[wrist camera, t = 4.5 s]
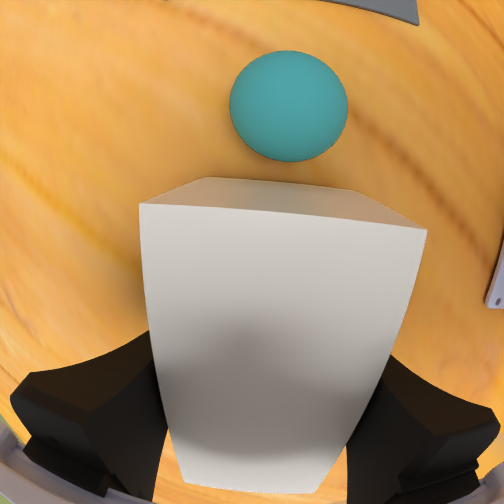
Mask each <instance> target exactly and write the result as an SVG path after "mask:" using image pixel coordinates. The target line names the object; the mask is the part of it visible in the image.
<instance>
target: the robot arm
mask: <svg viewBox="0 0 504 504" xmlns="http://www.w3.org/2000/svg"><path fill="white" fill-rule="evenodd" d="M485 305H486V306H487V307H488V308H490V309H504V241H503V245H502V249H501V253H500V256H499V260H498V263H497V267H496V270H495V273H494V276H493V279H492V282H491V285H490V288H489V291H488V294H487V297H486V300H485ZM10 402H11V405H12V408H13V409H14V411H15V413H16V414H17V416H18V417H19V419H20V420H21V422H22V423H23V425H24V426H25V427H26V429H27V430H28V432H29V433H30V434H31V436H32V437H31V438H30V440H29V441H28V443H27V444H26V445H24V444H23V443H21V442H20V441H18V438H17V437H16V436H15V434H14V433H13V432H12V431H11V430H10V429H9V428H8V427H7V426H6V425H5V424H4V423H2V422H1V421H0V494H1V495H3V496H4V497H5V498H6V499H8V500H9V501H10V502H11V503H13V504H157V503H153V502H152V499H153V493H154V487H155V481H156V476H157V471H158V467H159V462H160V457H161V453H162V449H163V445H164V441H165V437H166V434H167V430H168V424H167V420H166V416H165V412H164V407H163V403H162V398H161V394H160V389H159V384H158V379H157V374H156V369H155V363H154V357H153V351H152V345H151V339H150V332H149V330H148V331H147V332H145V333H143V334H142V335H140V336H138V337H137V338H135V339H134V340H132V341H130V342H129V343H127V344H125V345H123V346H121V347H119V348H117V349H115V350H113V351H111V352H109V353H107V354H104V355H102V356H99V357H96V358H94V359H91V360H88V361H85V362H82V363H79V364H75V365H72V366H68V367H63V368H59V369H53V370H46V371H39V372H30V373H29V374H28V375H27V377H26V378H25V379H24V380H23V381H22V382H21V383H20V385H19V386H18V387H17V388H16V389H15V391H14V392H13V393H12V394H11V395H10ZM500 427H501V425H500V423H499V422H498V420H497V418H496V416H495V414H494V413H493V411H492V409H491V408H488V407H484V406H481V405H478V404H474V403H471V402H468V401H465V400H463V399H460V398H458V397H456V396H453V395H451V394H449V393H447V392H445V391H443V390H441V389H439V388H437V387H435V386H434V385H432V384H430V383H428V382H427V381H425V380H424V379H422V378H421V377H419V376H418V375H416V374H415V373H413V372H412V371H410V370H409V369H408V368H406V367H405V366H404V365H403V364H401V363H400V362H399V361H398V360H397V359H395V358H394V357H393V356H392V355H391V354H390V356H389V358H388V361H387V363H386V365H385V368H384V370H383V372H382V375H381V377H380V379H379V381H378V384H377V386H376V388H375V390H374V392H373V394H372V396H371V398H370V400H369V402H368V404H367V406H366V408H365V410H364V412H363V414H362V416H361V418H360V420H359V422H358V424H357V426H356V427H355V429H354V431H353V433H352V435H351V436H350V438H349V440H348V442H347V443H346V450H347V504H504V462H502V463H500V464H499V465H497V466H496V467H494V468H493V469H492V470H491V471H489V473H487V475H485V477H484V478H482V479H479V480H478V477H477V475H476V472H475V470H476V469H477V468H478V467H479V464H478V462H477V458H478V457H479V456H480V455H481V454H482V453H483V452H484V451H485V450H486V449H487V448H488V446H489V445H490V444H491V443H492V442H493V441H494V439H495V438H496V437H497V435H498V433H499V431H500Z"/></svg>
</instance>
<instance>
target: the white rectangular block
mask: <svg viewBox="0 0 504 504" xmlns="http://www.w3.org/2000/svg"><path fill="white" fill-rule="evenodd" d="M139 222H140V243H141V258H142V271H143V282H144V292H145V301H146V310H147V317H148V325H149V332H150V339H151V345H152V351H153V357H154V363H155V369H156V374H157V379H158V384H159V389H160V394H161V398H162V403H163V407H164V412H165V416H166V420H167V424H168V428H169V432H170V436H171V440H172V443H173V447H174V451H175V454H176V458H177V461H178V464H179V468H180V471H181V474H182V477H183V480H184V482H185V483H190V484H195V485H201V486H207V487H213V488H220V489H228V490H236V491H246V492H260V493H288V494H297V493H314V492H315V491H316V490H317V488H318V487H319V485H320V484H321V483H322V481H323V480H324V478H325V477H326V475H327V474H328V472H329V471H330V469H331V468H332V466H333V464H334V463H335V461H336V460H337V458H338V457H339V455H340V453H341V452H342V450H343V448H344V447H345V445H346V443H347V442H348V440H349V438H350V436H351V435H352V433H353V431H354V429H355V427H356V426H357V424H358V422H359V420H360V418H361V416H362V414H363V412H364V410H365V408H366V406H367V404H368V402H369V400H370V398H371V396H372V394H373V392H374V390H375V388H376V386H377V384H378V381H379V379H380V377H381V375H382V372H383V370H384V368H385V365H386V363H387V361H388V358H389V356H390V353H391V351H392V348H393V346H394V343H395V341H396V338H397V335H398V333H399V330H400V327H401V324H402V321H403V318H404V316H405V313H406V310H407V306H408V303H409V300H410V297H411V294H412V290H413V287H414V284H415V280H416V276H417V273H418V269H419V265H420V261H421V257H422V253H423V249H424V245H425V240H426V236H427V231H428V230H427V229H425V228H423V227H422V226H420V225H418V224H417V223H415V222H413V221H411V220H410V219H408V218H406V217H404V216H403V215H401V214H399V213H397V212H395V211H394V210H392V209H390V208H388V207H386V206H385V205H383V204H381V203H379V202H377V201H375V200H373V199H371V198H369V197H367V196H365V195H364V194H362V193H360V192H358V191H355V190H348V189H340V188H332V187H324V186H316V185H307V184H297V183H287V182H276V181H264V180H251V179H236V178H219V177H203V178H200V179H198V180H195V181H192V182H190V183H187V184H185V185H182V186H180V187H177V188H174V189H172V190H170V191H167V192H165V193H162V194H160V195H157V196H155V197H153V198H150V199H148V200H146V201H143V202H141V203H139Z"/></svg>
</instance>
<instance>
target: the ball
mask: <svg viewBox="0 0 504 504" xmlns="http://www.w3.org/2000/svg"><path fill="white" fill-rule="evenodd" d="M347 114H348V102H347V96H346V93H345V90H344V87H343V85H342V83H341V81H340V80H339V78H338V76H337V75H336V74H335V73H334V71H333V70H332V69H331V68H330V67H329V66H328V65H326V64H325V63H324V62H322V61H321V60H319V59H317V58H316V57H313V56H311V55H309V54H305V53H302V52H297V51H277V52H272V53H269V54H266V55H263V56H261V57H259V58H257V59H255V60H254V61H252V62H251V63H250V64H248V65H247V66H246V67H245V68H244V69H243V70H242V71H241V73H240V74H239V75H238V77H237V78H236V80H235V83H234V85H233V88H232V91H231V95H230V115H231V119H232V122H233V124H234V127H235V129H236V131H237V132H238V134H239V136H240V137H241V138H242V139H243V141H244V142H245V143H246V144H247V145H248V146H249V147H250V148H252V149H253V150H254V151H256V152H257V153H259V154H261V155H263V156H265V157H267V158H270V159H273V160H277V161H283V162H298V161H304V160H308V159H311V158H314V157H316V156H318V155H320V154H322V153H323V152H325V151H326V150H328V149H329V148H330V147H331V146H332V145H333V144H334V143H335V142H336V141H337V139H338V138H339V136H340V135H341V133H342V131H343V129H344V127H345V123H346V120H347Z"/></svg>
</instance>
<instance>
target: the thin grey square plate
mask: <svg viewBox="0 0 504 504" xmlns="http://www.w3.org/2000/svg"><path fill="white" fill-rule="evenodd" d="M322 1H328V2H333V3H339V4H343V5H348V6H353V7H357V8H361V9H365V10H369V11H373V12H376V13H380V14H383V15H387V16H390V17H393V18H396V19H399V20H402V21H405V22H408V23H411V24H413V25H416V26H418V25H419V17H418V9H417V2H416V0H322Z"/></svg>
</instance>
